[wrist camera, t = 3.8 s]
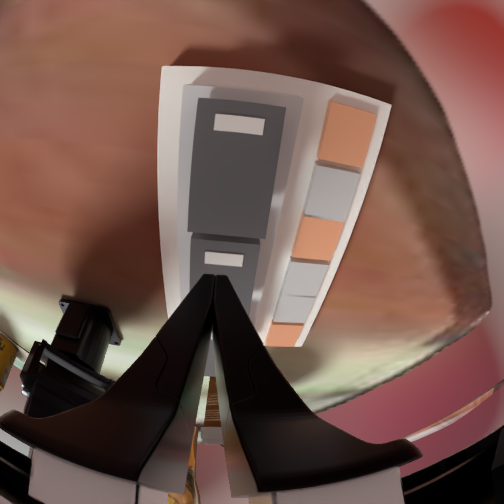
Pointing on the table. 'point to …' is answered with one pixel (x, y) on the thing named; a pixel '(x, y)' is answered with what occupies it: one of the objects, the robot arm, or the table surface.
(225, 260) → the rocker middle
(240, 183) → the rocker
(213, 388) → the food container
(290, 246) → the switch unit
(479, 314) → the table surface
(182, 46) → the table surface
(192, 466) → the pancake mix bag
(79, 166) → the table surface
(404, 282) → the table surface
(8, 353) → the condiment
